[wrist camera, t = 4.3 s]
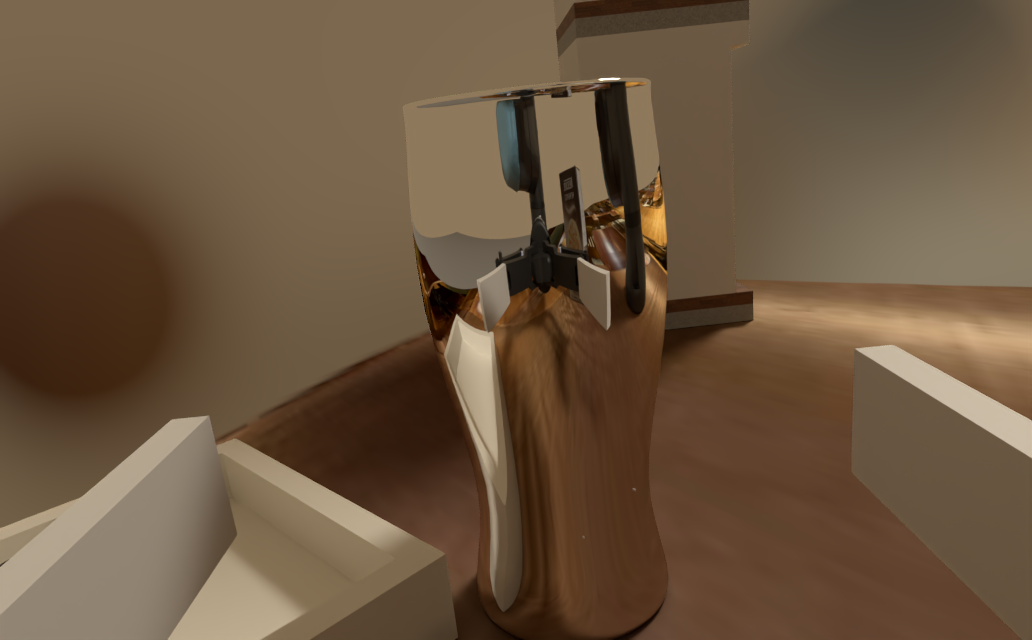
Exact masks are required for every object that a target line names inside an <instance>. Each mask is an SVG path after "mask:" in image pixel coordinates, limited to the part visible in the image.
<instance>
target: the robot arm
mask: <svg viewBox="0 0 1032 640" xmlns="http://www.w3.org/2000/svg"><path fill="white" fill-rule="evenodd" d="M851 473H853V474H854V475H855V476H856V477H857V478H858V479H859V480H860V481H861V482H862V483H863V484H864V485H865V486H866V487H867V488H868V489H869V490H870V491H871V492H872V493H873V494H874V495H875V496H876V497H877V498H878V499H879V500H880V501H881V502H882V503H883V504H884V505H885V506H886V507H887V508H888V509H889V510H890V511H891V512H892V513H893V514H894V515H895V516H896V517H897V518H898V519H899V520H900V521H901V522H903V523H904V524H905V525H906V526H907V527H908V528H909V529H910V530H911V531H912V532H913V533H914V534H915V535H916V536H917V537H918V538H919V539H920V540H921V541H922V542H923V543H924V544H925V545H926V546H927V547H928V548H929V549H930V550H931V551H932V552H933V553H934V554H935V555H936V556H937V557H938V558H939V559H940V560H941V561H942V562H943V563H944V564H945V565H946V566H947V567H948V568H949V569H950V570H951V571H952V572H954V573H955V574H956V575H957V576H958V577H959V578H960V579H961V580H962V581H963V582H964V583H965V584H966V585H967V586H968V587H969V588H970V589H971V590H972V591H973V592H974V593H975V594H976V595H977V596H978V597H979V598H980V599H981V600H982V601H983V602H984V603H985V604H986V605H987V606H988V607H989V608H990V609H991V610H992V611H993V612H994V613H995V614H996V615H997V616H998V617H999V618H1000V619H1001V620H1002V621H1003V622H1005V623H1006V624H1007V625H1008V626H1009V627H1010V628H1011V629H1012V630H1013V631H1014V632H1015V633H1016V634H1017V635H1018V636H1019V637H1020V638H1021V639H1022V640H1032V421H1031V420H1029V419H1028V418H1026V417H1024V416H1022V415H1020V414H1018V413H1017V412H1015V411H1013V410H1011V409H1009V408H1008V407H1006V406H1004V405H1002V404H1000V403H998V402H997V401H995V400H993V399H991V398H989V397H987V396H986V395H984V394H982V393H980V392H978V391H976V390H975V389H973V388H971V387H969V386H967V385H965V384H964V383H962V382H960V381H958V380H956V379H954V378H953V377H951V376H949V375H947V374H945V373H943V372H942V371H940V370H938V369H936V368H934V367H932V366H931V365H929V364H927V363H925V362H923V361H921V360H920V359H918V358H916V357H914V356H912V355H911V354H909V353H907V352H905V351H903V350H901V349H900V348H898V347H896V346H894V345H886V346H876V347H867V348H857V349H855V353H854V392H853V430H852V469H851ZM236 536H237V530H236V526H235V522H234V518H233V514H232V510H231V505H230V501H229V497H228V493H227V489H226V484H225V480H224V476H223V472H222V468H221V464H220V459H219V455H218V451H217V447H216V443H215V438H214V435H213V430H212V426H211V422H210V418H209V416H202V417H193V418H183V419H174V420H171V421H170V422H169V423H167V424H166V425H165V426H164V427H163V428H162V429H160V430H159V431H158V432H157V433H156V434H155V435H153V436H152V437H151V438H150V439H149V440H148V441H146V442H145V443H144V444H143V445H142V446H141V447H139V448H138V449H137V450H136V451H135V452H134V453H132V454H131V455H130V456H129V457H128V458H127V459H125V460H124V461H123V462H122V463H121V464H120V465H118V466H117V467H116V468H115V469H114V470H113V471H111V473H109V474H108V475H107V476H106V477H105V478H103V479H102V480H101V481H100V482H99V483H98V484H96V485H95V486H94V487H93V488H92V489H91V490H90V491H88V492H87V493H86V494H85V495H84V496H82V497H81V498H80V499H79V500H78V501H77V502H75V503H74V504H73V505H72V506H71V507H70V508H68V509H67V510H66V511H65V512H64V513H63V514H61V515H60V516H59V517H58V518H57V519H56V520H54V521H53V522H52V523H51V524H50V525H49V526H48V527H46V528H45V529H44V530H43V531H42V532H41V533H39V534H38V535H37V536H36V537H35V538H34V539H32V540H31V541H30V542H29V543H28V544H27V545H25V546H24V547H23V548H22V549H21V550H20V551H18V552H17V553H16V554H15V555H14V556H13V557H11V558H10V559H9V560H7V561H5V562H3V563H2V564H0V640H168V638H169V637H170V635H171V634H172V632H173V631H174V629H175V628H176V626H177V625H178V623H179V622H180V620H181V619H182V617H183V616H184V614H185V613H186V611H187V610H188V608H189V607H190V605H191V604H192V602H193V601H194V599H195V598H196V596H197V595H198V593H199V592H200V590H201V589H202V587H203V586H204V584H205V583H206V581H207V580H208V578H209V577H210V575H211V574H212V572H213V571H214V569H215V568H216V566H217V565H218V563H219V562H220V560H221V559H222V557H223V556H224V554H225V553H226V551H227V550H228V548H229V547H230V545H231V544H232V542H233V541H234V539H235V538H236Z"/></svg>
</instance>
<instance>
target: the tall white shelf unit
mask: <svg viewBox="0 0 1032 640" xmlns="http://www.w3.org/2000/svg"><path fill="white" fill-rule="evenodd" d="M554 11H555V23H556V34H557V47H558V59H559V71H560V82H566V81H577V80H589V79H603V78H622V77H644V78H649V79H650V80H651V95H652V105H653V113H654V121H655V128H656V135H657V142H658V149H659V157H660V165H661V173H662V182H663V190H664V202H665V214H666V227H667V249H668V294H667V307H666V321H665V330H668V329H677V328H686V327H695V326H704V325H713V324H722V323H731V322H740V321H749V320H753V291H752V290H750V289H749V288H747V287H745V286H744V285H742V284H740V283H739V282H737V281H736V274H735V231H734V230H735V229H734V228H735V227H734V182H733V181H734V179H733V133H732V132H733V131H732V87H731V86H732V83H731V50H733V49H736V48H739V47H742V46H744V45H747V44H749V0H554Z"/></svg>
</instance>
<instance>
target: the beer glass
mask: <svg viewBox="0 0 1032 640" xmlns="http://www.w3.org/2000/svg"><path fill="white" fill-rule="evenodd" d="M402 110H403V113H404V119H405V129H406V143H407V164H408V182H409V196H410V211H411V222H412V231H413V240H414V248H415V257H416V264H417V271H418V276H419V281H420V288H421V293H422V298H423V305H424V310H425V314H426V317H427V322H428V325H429V329H430V333H431V336H432V340H433V344H434V347H435V351H436V355H437V358H438V361H439V364H440V367H441V370H442V374H443V377H444V380H445V383H446V386H447V389H448V392H449V395H450V398H451V401H452V404H453V407H454V410H455V413H456V416H457V419H458V422H459V425H460V428H461V431H462V434H463V437H464V440H465V444H466V447H467V450H468V454H469V457H470V460H471V463H472V467H473V471H474V476H475V481H476V486H477V491H478V499H479V510H480V537H479V551H478V566H477V589H478V595H479V599H480V602H481V604H482V606H483V608H484V610H485V612H486V613H487V615H488V616H489V617H490V618H491V620H492V621H493V622H494V623H496V624H497V625H498V626H499V627H501V628H502V629H503V630H505V631H507V632H508V633H510V634H512V635H514V636H516V637H519V638H521V639H524V640H613V639H616V638H619V637H621V636H624V635H626V634H628V633H630V632H632V631H633V630H635V629H637V628H638V627H640V626H641V625H643V624H644V623H645V622H647V621H648V620H649V619H650V618H651V617H652V616H653V615H654V614H655V613H656V612H657V610H658V609H659V608H660V606H661V605H662V603H663V601H664V598H665V596H666V592H667V587H668V569H667V563H666V558H665V554H664V550H663V546H662V543H661V539H660V535H659V531H658V528H657V524H656V520H655V516H654V512H653V507H652V501H651V494H650V484H649V451H650V442H651V433H652V424H653V416H654V409H655V402H656V395H657V388H658V381H659V374H660V366H661V358H662V350H663V342H664V334H665V321H666V307H667V294H668V249H667V227H666V214H665V202H664V190H663V182H662V173H661V165H660V157H659V149H658V142H657V135H656V128H655V121H654V113H653V105H652V95H651V80H650V79H649V78H644V77H622V78H603V79H589V80H577V81H566V82H555V83H545V84H535V85H527V86H518V87H509V88H500V89H492V90H485V91H477V92H470V93H463V94H456V95H449V96H444V97H437V98H431V99H426V100H421V101H417V102H413V103H409V104H406V105H404V106H403V108H402Z"/></svg>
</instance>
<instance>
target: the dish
mask: <svg viewBox="0 0 1032 640" xmlns="http://www.w3.org/2000/svg"><path fill="white" fill-rule="evenodd" d="M216 447H217V451H218V455H219V459H220V464H221V468H222V472H223V476H224V480H225V484H226V489H227V493H228V497H229V501H230V505H231V510H232V514H233V518H234V522H235V526H236V530H237V536H236V538H235V539H234V541H233V542H232V544H231V545H230V547H229V548H228V550H227V551H226V553H225V554H224V556H223V557H222V559H221V560H220V562H219V563H218V565H217V566H216V568H215V569H214V571H213V572H212V574H211V575H210V577H209V578H208V580H207V581H206V583H205V584H204V586H203V587H202V589H201V590H200V592H199V593H198V595H197V596H196V598H195V599H194V601H193V602H192V604H191V605H190V607H189V608H188V610H187V611H186V613H185V614H184V616H183V617H182V619H181V620H180V622H179V623H178V625H177V626H176V628H175V629H174V631H173V632H172V634H171V635H170V637H169V638H168V640H455V639H456V638H458V633H457V626H456V619H455V613H454V606H453V599H452V593H451V586H450V579H449V573H448V566H447V559H446V554H445V553H443V552H441V551H440V550H438V549H436V548H434V547H432V546H430V545H429V544H427V543H425V542H423V541H421V540H420V539H418V538H416V537H414V536H412V535H411V534H409V533H407V532H405V531H403V530H401V529H400V528H398V527H396V526H394V525H392V524H391V523H389V522H387V521H385V520H383V519H381V518H380V517H378V516H376V515H374V514H372V513H371V512H369V511H367V510H365V509H363V508H361V507H360V506H358V505H356V504H354V503H352V502H351V501H349V500H347V499H345V498H343V497H341V496H340V495H338V494H336V493H334V492H332V491H331V490H329V489H327V488H325V487H323V486H322V485H320V484H318V483H316V482H314V481H312V480H311V479H309V478H307V477H305V476H303V475H302V474H300V473H298V472H296V471H294V470H292V469H291V468H289V467H287V466H285V465H283V464H282V463H280V462H278V461H276V460H274V459H272V458H271V457H269V456H267V455H265V454H263V453H262V452H260V451H258V450H256V449H254V448H252V447H251V446H249V445H247V444H245V443H243V442H242V441H240V440H238V439H236V438H235V439H232V440H229V441H227V442H224V443H221V444H219V445H216ZM79 499H80V498H78V499H75V500H73V501H70V502H68V503H65V504H62V505H60V506H57V507H55V508H52V509H49V510H47V511H44V512H42V513H39V514H36V515H34V516H31V517H28V518H26V519H23V520H21V521H18V522H15V523H13V524H10V525H7V526H5V527H2V528H0V564H2V563H3V562H5V561H7V560H9V559H10V558H11V557H13V556H14V555H15V554H16V553H17V552H18V551H20V550H21V549H22V548H23V547H24V546H25V545H27V544H28V543H29V542H30V541H31V540H32V539H34V538H35V537H36V536H37V535H38V534H39V533H41V532H42V531H43V530H44V529H45V528H46V527H48V526H49V525H50V524H51V523H52V522H53V521H54V520H56V519H57V518H58V517H59V516H60V515H61V514H63V513H64V512H65V511H66V510H67V509H68V508H70V507H71V506H72V505H73V504H74V503H75V502H77V501H78V500H79Z"/></svg>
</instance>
